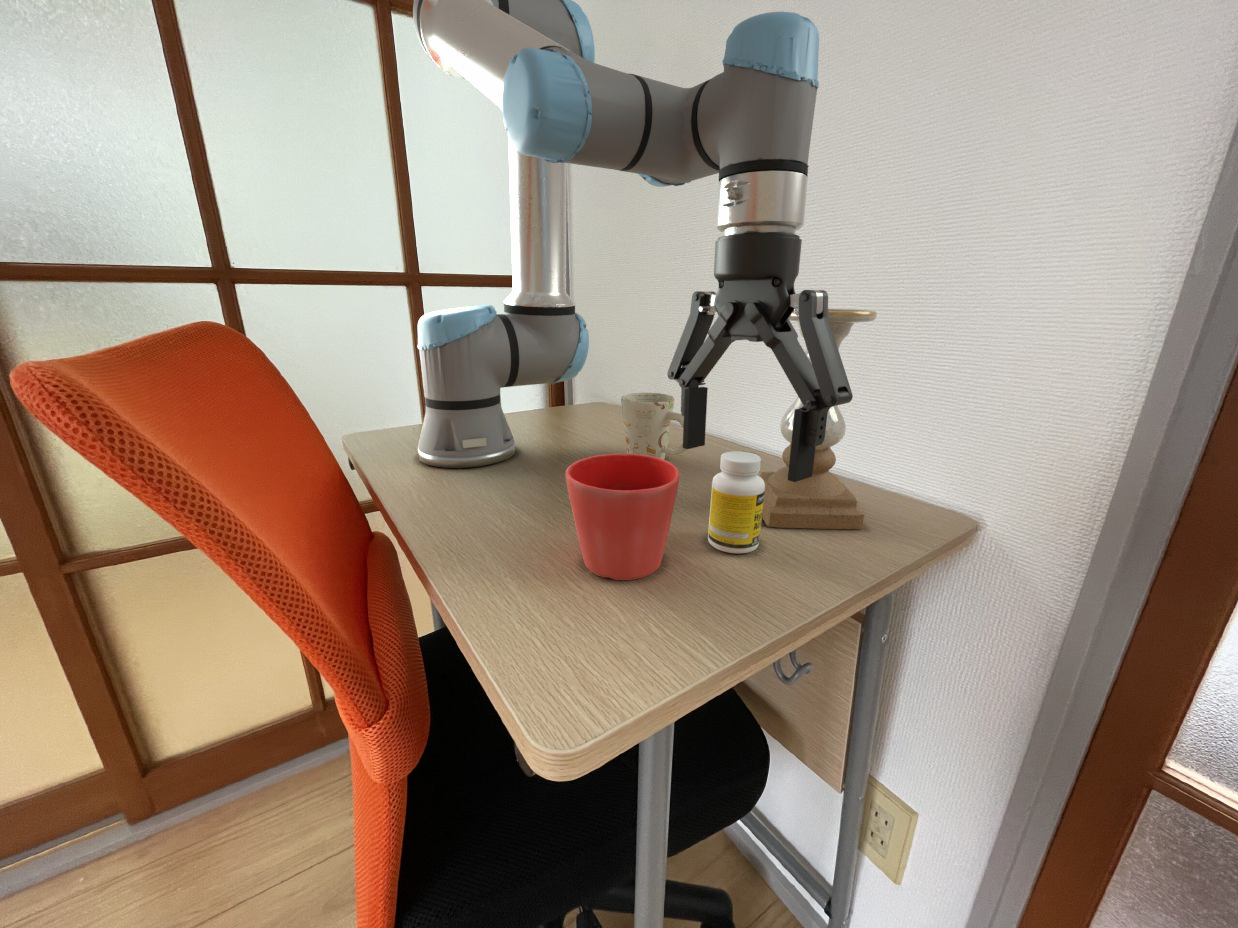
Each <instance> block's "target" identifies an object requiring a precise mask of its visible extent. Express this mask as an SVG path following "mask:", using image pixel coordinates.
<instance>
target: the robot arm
mask: <svg viewBox="0 0 1238 928" xmlns="http://www.w3.org/2000/svg"><path fill="white" fill-rule="evenodd" d="M412 21H413V26H414V31H415V34H416V37H417V39H418V42H419V44H420V46H421V47H422V49H423V51H424V52H425V54H426V55H427V56H428V58H429V59H430V60H431V61H432V62H433V63H434V64H435V65H436V66H437V67H438V68H440V69H441V70H442V71H443V72H445V73H446V74H448V75H449V76H451V77H453V78H456V79H461V80H467V81H469V82H470V83H471V84H472V85H473V86H474V87H475V88H476V89H478V91H480V92H481V93H482V94H483V95H485V96H486V97H487V98H488V99H489V100H490V101H492V102H493V103H494V104H495V105H496V106H497V107H498V108H499V109H500V110H501V111H502V121H503V125H504V129H505V131H507V139H508V140H507V141H508V169H509V203H510V204H509V206H510V238H511V264H512V265H511V269H512V271H511V272H512V291H511V293H510V294H509V295H508V296H507V297H506V298H505V299H504V300H503V313H498V312H497V310H496V309H495V306H493V305H491V304H478V305H469V306H461V307H460V306H459V307H453V308H446V309H440V310H435V311H431V312H427V313H425V314H423V315H422V316H421V317H420V318H419V319H418V322H417V345H416V346H417V349H418V353H419V358H420V370H421V378H422V379H421V380H422V387H423V388H422V389H423V396H424V404H425V414H424V418H423V423H422V427H421V429H420V435H419V439H418V442H417V443H418V444H417V453H418V454H417V455H418V460H419V461H420V462H422V463H423V464H425V465H428V466H432V467H436V468H447V469H465V468H475V467H476V468H477V467H485V466H489V465H494V464H497V463H499V462H503V461H506V460H508V459H509V458H511V457H512V456H514V455H515V453H516V445H515V444H516V443H515V439H514V438H515V437H514V436H513V434H512V431H511V428H510V425H509V423H508V421H507V418H506V415H505V412H504V411H503V408H502V399H501V389H503V388H512V387H521V386H522V387H523V386H534V385H545V384H547V385H555V384H557V383H560V382H561V383H562V382H568V381H571V380H573V379H575V378H577V376H578V375H579V373H580V372H581V371H582V370H583V368H584V366H585V364H586V362H587V359H588V355H589V354H588V353H589V349H590V336H589V330H588V329H587V322H586V321H585V319H584V318H583V316H582V315H581V314H579V313H577V312H576V303H575V301H574V300H573V299H572V298H571V297H570V295H569V294H568V292H567V195H568V194H567V192H568V191H567V186H568V185H567V184H568V182H567V181H568V179H567V178H568V177H567V175H568V173H567V172H568V170H567V169H568V168H567V167H568V164H571V165H579V166H585V167H594V168H598V169H599V168H601V169H605V170H614V171H621V172H624V173H631V174H637V175H638V176H639V177H641V178H642V179H643V180H644V181H645V182H647V183H648V184H649V185H651V186H652V187H653V186H654V187H656V188H657V187H658V188H664V187H669V186H674V187H680V186H684V185H685V184H690V183H691V182H692V181H696V180H699V179H700V180H701V179H703V178H707V177H710V176H714V175H717V174H718V191H717V192H718V193H717V214H716V216H717V217H716V230H718V231H719V232H721V233H722V236H718V238H717V240H716V241H715V244H714V245H715V246H714V262H713V264H714V265H713V276H714V279H716V280H717V282H718V288H717V291H716V292H715V291H710V290H709V291H708V290H707V291H702V290H701V291H699V290H697V291H694V292H693V293H692V295H691V301H690V310H689V315H688V317H687V320H686V323H685V325H684V328H683V331H682V333H681V336H680V338H679V341H678V344H677V347H676V349H675V351H674V355H673V357H672V359H671V363H670V364H669V367H668V370H667V378H668V379H669V380H670V381H671V380H674V381H675V382H677V383H678V386H679V387H680V389H681V392H680V393H681V395H680V414H682V416H684V425H683V427H682V430H683V431H682V443H683V448H685V449H687V450H690V449H695V448H699V447H704V446H706V429H707V408H708V407H707V406H708V390H709V388H708V387H706V386H705V385H706V382H705V380H706V378H707V377H708V376H709V374H710V373H711V372H712V371H713V369H714V368H715V366H716V365H717V364H718V363H719V361H720V359H721V358H722V357H723V356H724V354H725V353H726V351H728V349H729V347H730V346H731V344H732V343H733V342H736V341H749V342H753V343H754V342H755V343H759V342H761V343H762V342H763V343H764V345H765V346H766V347H767V348H769V349H770V350H771V351H772V353H773V355H774V356H775V358H776V360H777V362H778V363H779V365H780V367H781V369H782V371H783V372H784V374H785V376H786V377H787V380H788V381H789V383H790V384H791V386H792V388H793V390H794V391H795V393H796V395H797V397H799V399H800V400H801V402H802V404H803V407H802V408H800V409H795V412H794V422H793V431H792V441H791V451H790V461H789V471H788V480H789V481H792V482H797V481H800V480H803V479H806V478H809V477H812V473H813V464H814V456H815V447H816V446H818V445H822V443H823V441H824V439H825V431H826V429H825V428H826V422H827V414H828V411H829V409H830V408H831V407H833V406H840V405H845V404H849V403H851V402H852V400H853V397H854V396H853V395H854V394H853V392H852V389H851V388H852V387H851V385H850V383H849V379H848V376H847V373H846V369H845V367H844V364H843V360H842V357H841V354H840V351H839V350H838V347H837V344H836V341H835V338H834V335H833V332H832V329H831V325H830V322H829V319H828V309H829V293H828V292H827V291H826V290H825V289H804V290H802V291H800V293H799V292H798V293H796V290H795V282H796V279H797V278H798V276H799V272H800V264H801V254H802V244H803V243H802V242H803V240H802V239H801V237H800V235H799V234H796V231H798V230H800V229H802V228H803V226H804V225H805V215H806V204H807V203H806V202H807V192H808V180H809V178H808V176H809V175H808V174H809V156H810V147H811V140H812V134H813V133H812V132H813V124H814V116H815V110H816V101H817V95H818V89H819V87H820V86H819V85H820V82H819V77H818V76H819V52H820V51H819V50H820V33H819V30H818V27H817V26H816V24H815V23H814V22H813V21H812V20H811V18H808V17H806V16H804V15H801V14H800V13H796V12H790V11H770V12H769V11H768V12H765V13H760V14H756V15H753V16H750V17H748V18H746V19H744V20H742V21H741V22H739V23H738V24H736V25H735V26H734V28H733V30H732V31H731V33H730V34H729V35H728V36H727V39H726V42H725V51H724V57H723V59H722V66H723V71H722V72H721V73H718V74H717V75H715V76H713V77H712V78H709V79H707V80H705V81H703V82H701V83H699V84H696V85H694V86H692V87H681V86H678V85H674V84H670V83H667V82H663V81H660V80H656V79H652V78H649V77H645V76H641V75H638V74H634V73H627V72H625V71H621V70H617V69H614V68H611V67H608V66H605V65H601V64H598V63H596V61H595V59H596V58H595V57H596V56H595V55H596V54H595V53H596V51H595V41H594V35H593V31H592V26H591V24H590V21H589V18H588V16H587V15H586V13H585V11H583V9H582V7H581V6H580V5H579V4H578V3H577V2H576V1H574V0H413V6H412ZM793 311H794V313H795V314H796V315H797V316H798V317H799V322H800V327H801V331H802V334H803V336H802V338H803V337H804V338H803V340H804V343H806V344H805V348H806V347H807V350H808V353H809V356H810V359H811V362H810V360H809V359H808V357H807V355H806V354H805V350H804V348H803V347H802V345H801V344H800V342H799V340H798V338H799V334H798V331H796V329H795V327H794V326H793V323H792V321H791V320H789V319H788V318H789V317H790V315H791V314H792V313H793ZM716 313H717V318H716V319H715V321H714V318H715V314H716ZM713 321H714V322H713ZM811 363H812V364H811Z"/></svg>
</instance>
